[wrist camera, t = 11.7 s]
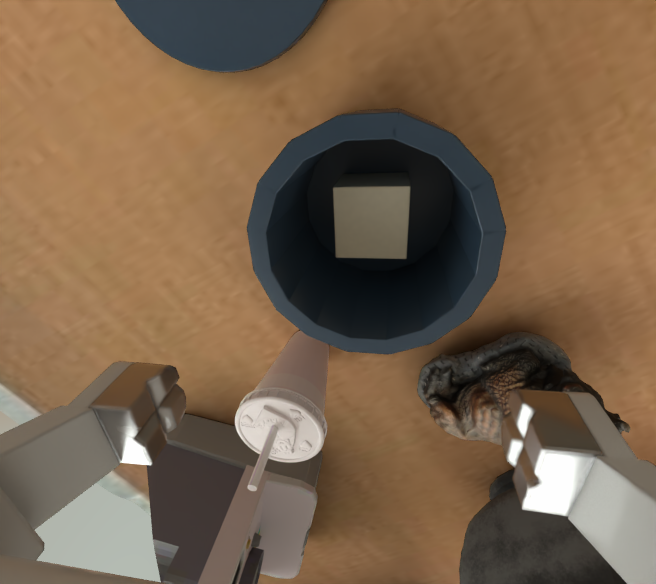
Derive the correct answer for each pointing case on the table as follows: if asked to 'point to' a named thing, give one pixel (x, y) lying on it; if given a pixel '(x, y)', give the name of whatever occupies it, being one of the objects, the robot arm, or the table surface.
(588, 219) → the table surface
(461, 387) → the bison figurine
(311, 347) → the smoothie
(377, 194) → the block
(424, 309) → the canister
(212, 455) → the instant camera
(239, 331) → the table surface
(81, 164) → the table surface
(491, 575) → the pitcher
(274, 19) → the lid
